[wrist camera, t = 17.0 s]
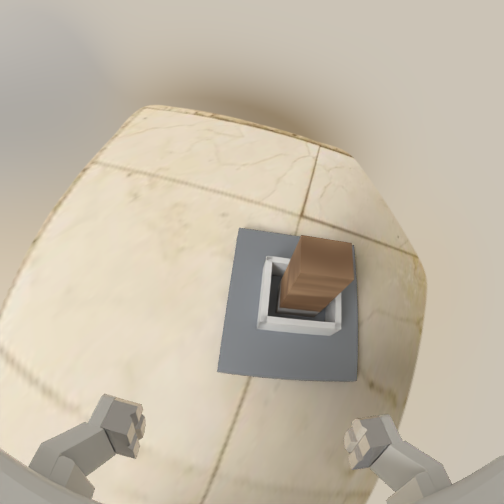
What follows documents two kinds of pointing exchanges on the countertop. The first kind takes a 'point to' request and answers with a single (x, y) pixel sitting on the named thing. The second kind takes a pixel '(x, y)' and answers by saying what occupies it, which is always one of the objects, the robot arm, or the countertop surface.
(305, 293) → the block
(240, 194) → the countertop surface
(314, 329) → the grey socket base
